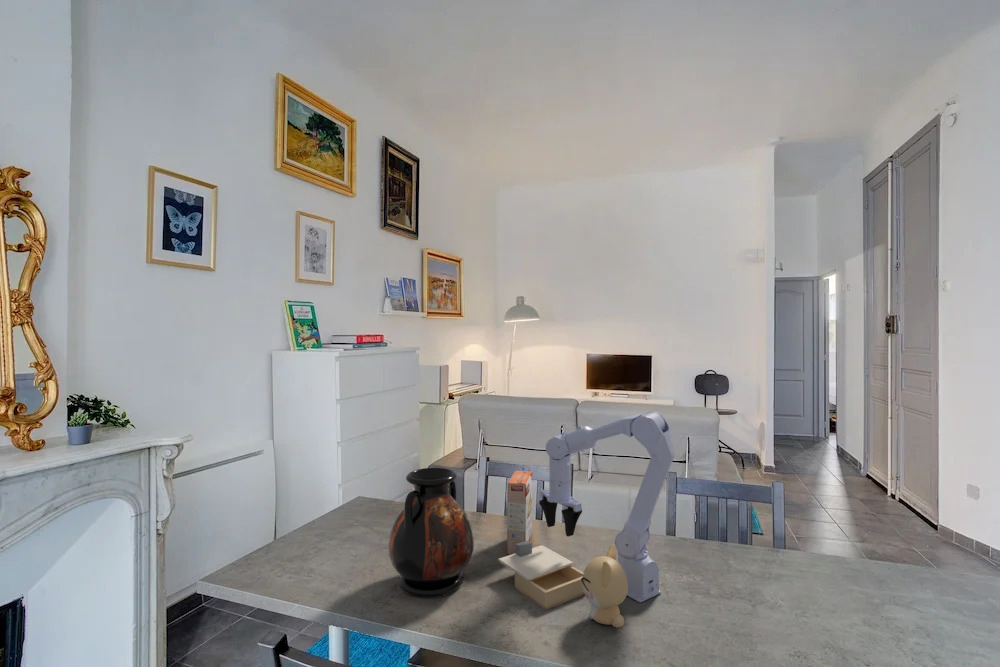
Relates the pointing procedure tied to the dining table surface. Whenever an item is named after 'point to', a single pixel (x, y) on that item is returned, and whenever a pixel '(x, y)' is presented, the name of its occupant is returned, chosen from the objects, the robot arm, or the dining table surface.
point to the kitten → (605, 588)
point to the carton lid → (534, 561)
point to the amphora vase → (431, 536)
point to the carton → (552, 587)
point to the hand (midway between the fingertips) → (560, 530)
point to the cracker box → (519, 509)
